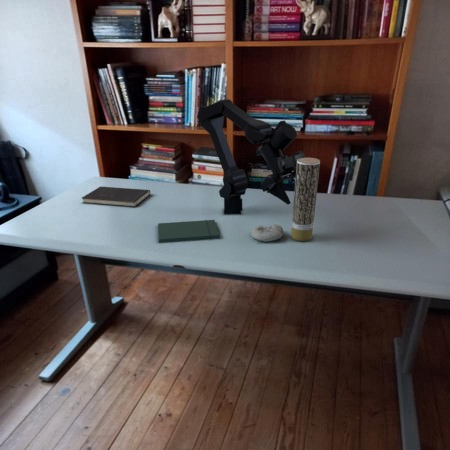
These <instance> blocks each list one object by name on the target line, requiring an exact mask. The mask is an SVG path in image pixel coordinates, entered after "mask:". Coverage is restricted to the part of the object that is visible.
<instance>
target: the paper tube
mask: <svg viewBox="0 0 450 450" xmlns="http://www.w3.org/2000/svg"><path fill="white" fill-rule="evenodd" d="M295 167H296V168H295V169H296V180H295V185H294V193H293V206H292V207H293V208H292V219H291V233H290V237H291V238H292V239H293V240H294V241H296V242H308V241H310V240H311V239H312V238H313V231H314V222H315V215H316V214H315V211H316V205H317V195H318V184H319V175H320V167H321V160H320V159H319V158H316V157H306V158H300V159H297V166H295Z"/></svg>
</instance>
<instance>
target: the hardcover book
mask: <svg viewBox="0 0 450 450" xmlns="http://www.w3.org/2000/svg"><path fill="white" fill-rule="evenodd" d="M150 196H151V190H150V189H142V188H129V187H128V188H127V187H113V186H99V187H97V188H95V189H94V190H92V191H90V192H89V193H87V194H85V195H84V196H82V197H81V199H82V204H87V205H88V204H89V205H99V206H100V205H101V206H113V207H124V208H136V207H138V205H140V204H141V203H142V202H144V201H145V200H146V199H147V198H149V197H150Z"/></svg>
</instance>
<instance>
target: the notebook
mask: <svg viewBox="0 0 450 450" xmlns="http://www.w3.org/2000/svg"><path fill="white" fill-rule="evenodd" d="M157 233H158V234H157V235H158V243H174V242H188V241H203V240H215V239H220V238H221V237H220V233H219V230H218V227H217V223H216V220H215V219H203V220H191V221H190V220H188V221H175V222H159V223H157Z"/></svg>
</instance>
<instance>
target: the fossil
mask: <svg viewBox="0 0 450 450" xmlns="http://www.w3.org/2000/svg"><path fill="white" fill-rule="evenodd" d="M283 236H284V228H283V227H282V226H281V225H280V224H273V225H272V226H264V225H258V226H255V227H253V228H252V229H251V231H250V237H252V238H253V240H257V241H259V242H260V241H261V242H273V241H277V240H279V239H281V238H282V237H283Z"/></svg>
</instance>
